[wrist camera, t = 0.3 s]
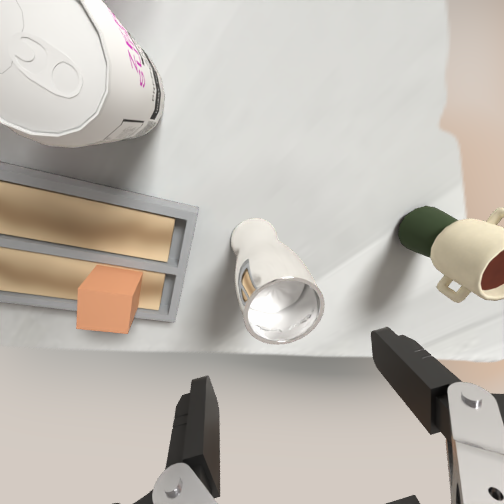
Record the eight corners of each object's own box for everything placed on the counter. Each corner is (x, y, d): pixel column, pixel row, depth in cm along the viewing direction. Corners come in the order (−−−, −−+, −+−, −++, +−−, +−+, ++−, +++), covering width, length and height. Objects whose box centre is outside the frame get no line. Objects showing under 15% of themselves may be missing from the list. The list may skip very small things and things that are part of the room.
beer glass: (236, 270, 36) (254, 357, 22) (219, 224, 32) (229, 292, 19) (285, 254, 36) (332, 330, 22) (273, 206, 33) (319, 262, 19)
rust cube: (96, 264, 30) (77, 288, 26) (143, 271, 31) (132, 296, 27) (94, 300, 32) (76, 328, 27) (138, 306, 33) (127, 333, 29)
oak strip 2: (-98, 223, 27) (-222, 261, 19) (166, 267, 33) (155, 309, 26) (-87, 269, 29) (-194, 321, 21) (160, 302, 35) (147, 351, 28)
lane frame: (-132, 131, 24) (-167, 131, 21) (198, 207, 31) (197, 213, 29) (-95, 275, 29) (-120, 287, 27) (176, 310, 37) (175, 322, 35)
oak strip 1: (-116, 150, 24) (-242, 160, 17) (176, 214, 31) (167, 239, 24) (-102, 208, 26) (-210, 236, 19) (169, 256, 33) (159, 290, 26)
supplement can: (60, 103, 25) (-109, 77, 12) (95, 14, 23) (-65, -147, 9) (142, 154, 28) (83, 180, 14) (180, 80, 26) (152, 29, 12)
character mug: (411, 265, 40) (494, 322, 28) (375, 251, 38) (449, 307, 26) (458, 199, 36) (576, 233, 25) (421, 179, 34) (532, 207, 23)
